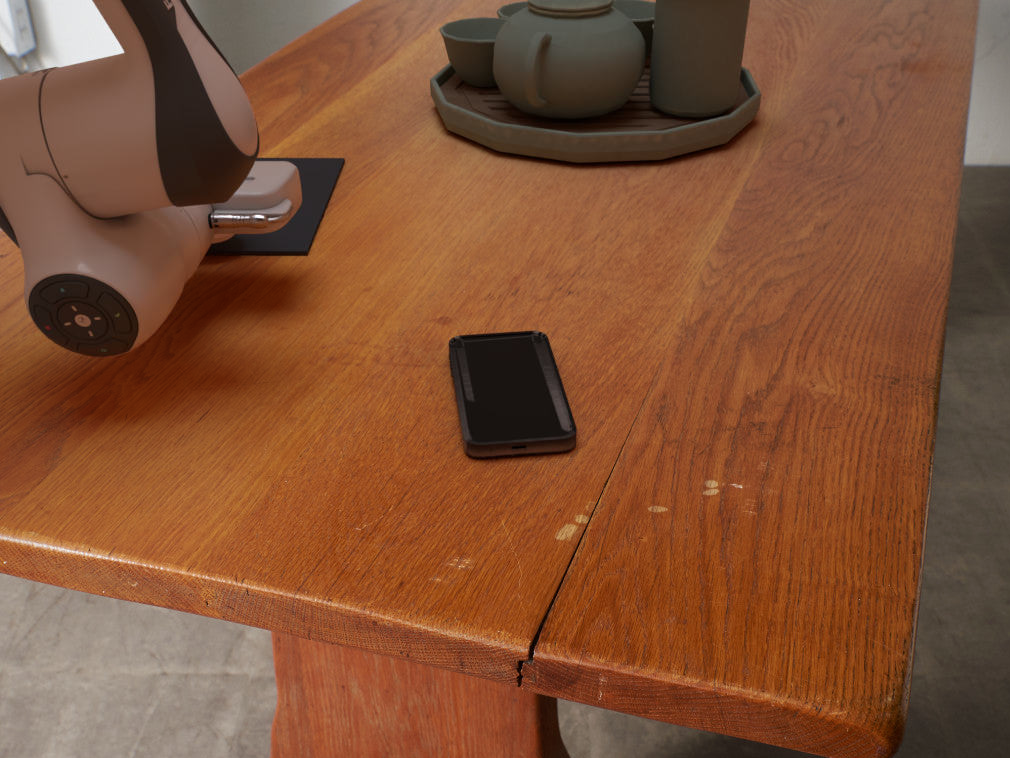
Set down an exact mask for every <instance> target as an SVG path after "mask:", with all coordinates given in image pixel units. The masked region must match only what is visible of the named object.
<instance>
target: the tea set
mask: <svg viewBox="0 0 1010 758" xmlns="http://www.w3.org/2000/svg"><path fill="white" fill-rule="evenodd" d="M750 4H751V0H655V1H649V0H525V1H524V0H523V1H516V2H512V3H508V4H504V5H502V6H501V7H500V8H498V9H497V10H496V15H497V17H489V16H487V17H484V16H481V17H470V18H469V17H468V18H461V19H458V20H454V21H450V22H446V23H445V24H444V25H442V26H441V27H439V29H438V31H439V33H440V35H441V37H442V39H443V43H444V47H445V50H446V54H447V58H448V63H447V64H446V65H445V66H444V67H442V68H441V69H440V70H439V71H438V72H436V73H435V75H433V76H432V77H431V78H430V79H429V88H430V90H429V92H430V97H431V99H432V101H433V104H434V105H435V107H436V109H437V111H438V113H439V116H440V117H441V120H442V122H443V124H444V126H445V128H446V130H447V131H450V132H453V133H454V134H456V135H459V136H462V137H464V138H466V139H469V140H471V141H474V142H476V143H477V144H480V145H483V146H485V147H487V148H489V149H492V150H495V151H497V152H501V153H508V154H513V155H521V156H528V157H535V158H541V159H547V160H556V161H563V162H567V163H568V162H569V163H574V164H575V163H577V164H582V163H583V164H587V163H611V162H612V163H614V162H637V161H639V162H642V161H643V162H644V161H661V160H666V159H669V158H673V157H677V156H681V155H684V154H688V153H693V152H696V151H701V150H704V149H708V148H713V147H717V146H720V145H721V146H722V145H725V144H727V143H728V142H729V141H730V140H732V139H733V138H734V137H735V136H736V135H737V134H739V132H741V131H742V130H743V129H744V128H746V127H747V126H748V125H749V124H750V123H751V122H752V121H754V119H755V118H756V117H757V114H758V113H759V111H760V107H761V100H762V92H761V90H760V89H759V86H758V85H757V83H756V81H755V79H754V76H753V75H752V73H751V71H750V70H749V69H748V68H746V67H743V57H744V51H745V44H746V43H745V42H746V36H747V28H748V21H749V12H750Z"/></svg>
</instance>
